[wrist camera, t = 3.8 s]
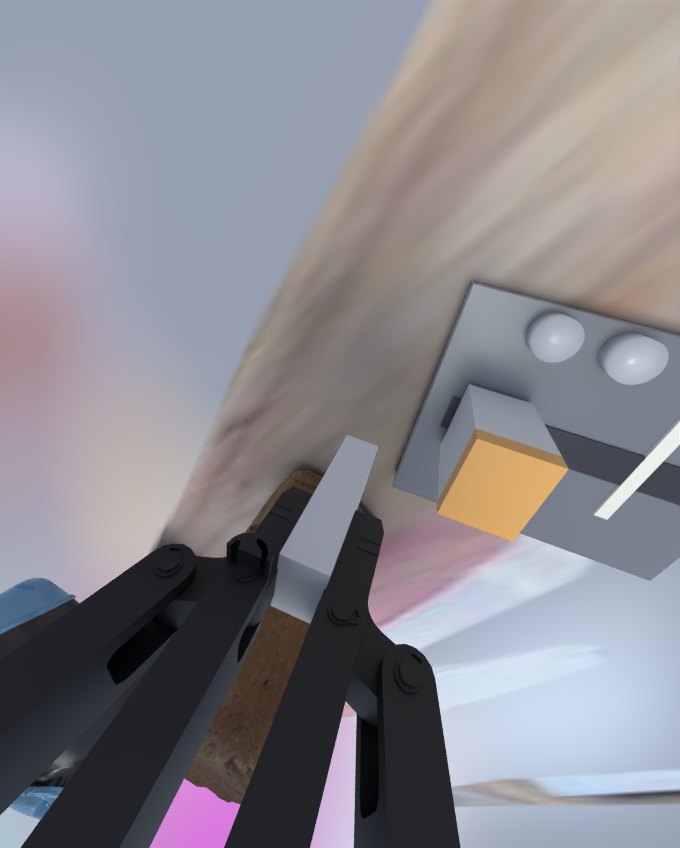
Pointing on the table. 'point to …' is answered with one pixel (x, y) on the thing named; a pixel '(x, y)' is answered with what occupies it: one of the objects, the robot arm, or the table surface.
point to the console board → (571, 420)
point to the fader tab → (496, 463)
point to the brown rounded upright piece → (252, 688)
